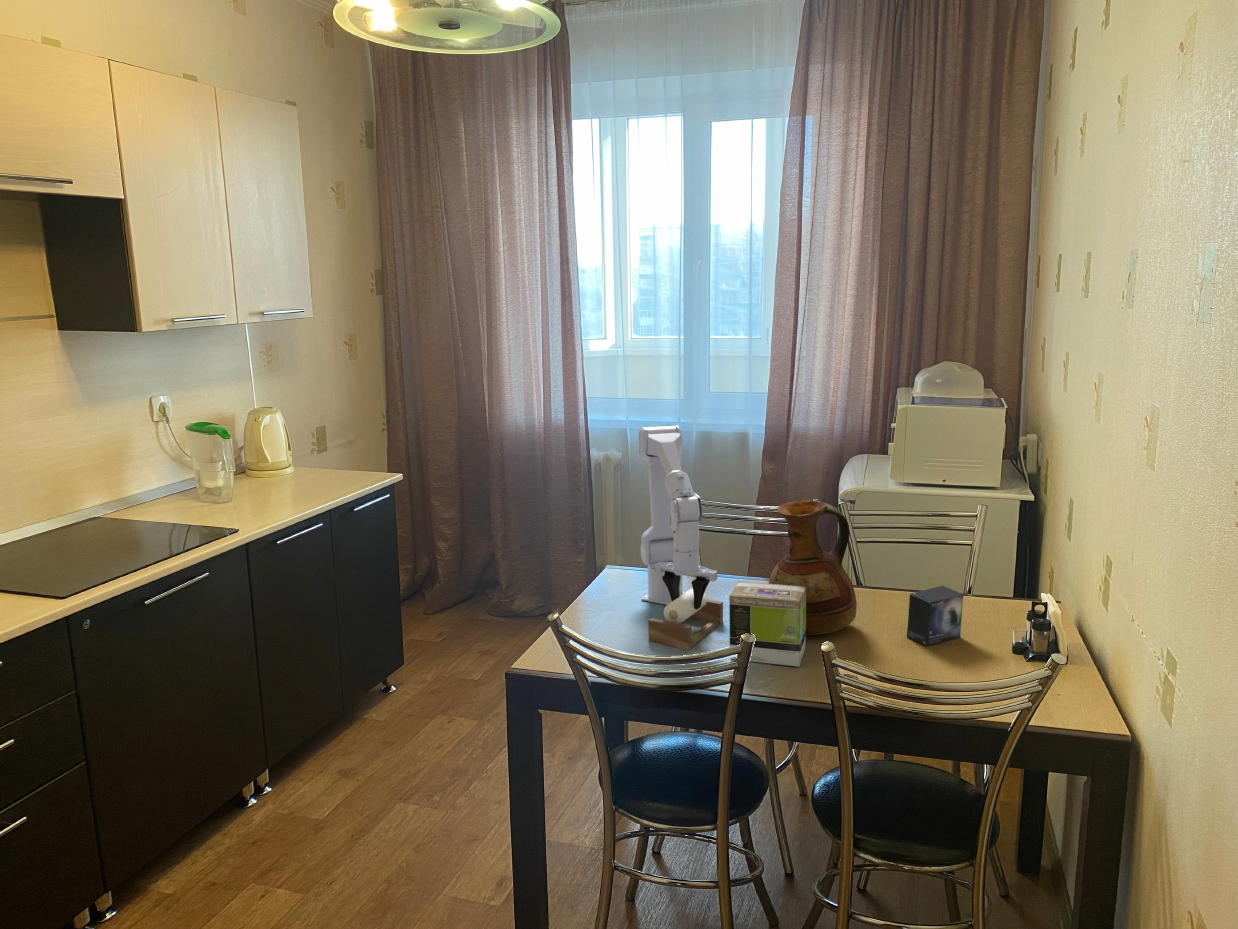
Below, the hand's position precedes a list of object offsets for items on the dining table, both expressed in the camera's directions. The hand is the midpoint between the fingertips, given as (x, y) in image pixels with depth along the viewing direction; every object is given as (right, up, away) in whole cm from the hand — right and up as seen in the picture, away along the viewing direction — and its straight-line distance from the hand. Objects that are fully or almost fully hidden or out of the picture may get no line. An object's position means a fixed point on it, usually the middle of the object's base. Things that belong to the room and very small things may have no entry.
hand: (686, 605), depth 206 cm
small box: (+55, -7, -5) cm, 55 cm away
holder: (0, -6, +1) cm, 6 cm away
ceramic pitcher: (+29, -5, +3) cm, 30 cm away
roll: (0, 0, 0) cm, 0 cm away
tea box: (+17, -9, -12) cm, 22 cm away
